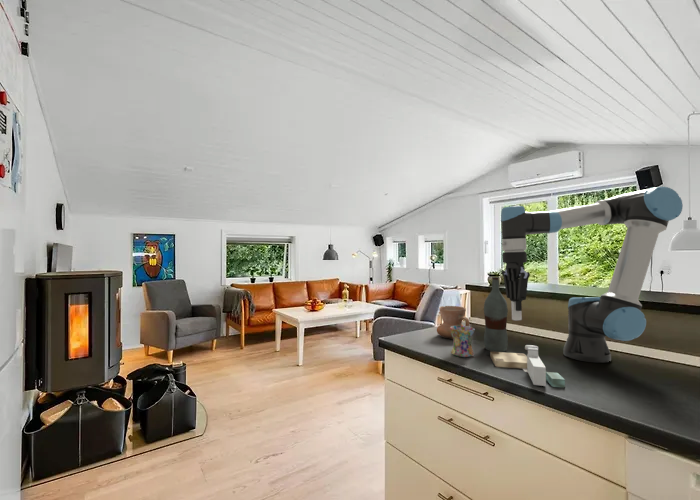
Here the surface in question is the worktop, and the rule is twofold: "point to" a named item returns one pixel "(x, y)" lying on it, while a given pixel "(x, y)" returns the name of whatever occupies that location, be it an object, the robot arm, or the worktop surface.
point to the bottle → (495, 319)
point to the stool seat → (523, 366)
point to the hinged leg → (535, 366)
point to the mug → (462, 341)
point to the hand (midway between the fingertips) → (516, 319)
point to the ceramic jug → (451, 319)
